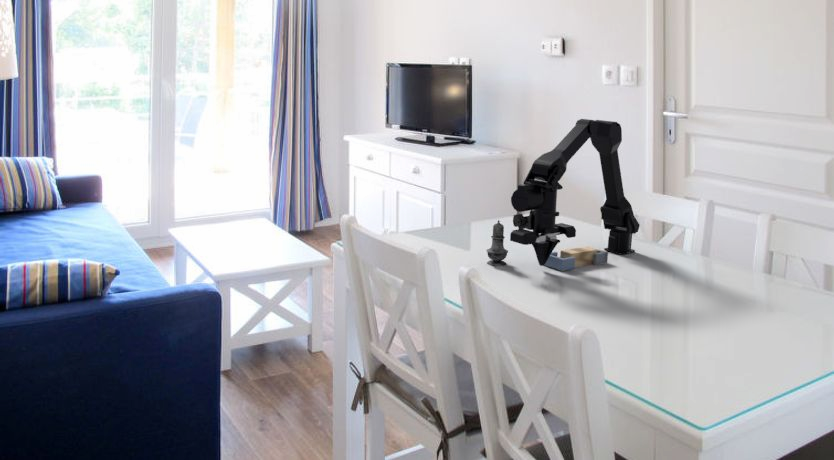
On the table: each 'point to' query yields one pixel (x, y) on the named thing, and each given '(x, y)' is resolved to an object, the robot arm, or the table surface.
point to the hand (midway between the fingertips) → (541, 265)
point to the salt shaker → (497, 247)
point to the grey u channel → (600, 257)
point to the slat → (580, 255)
